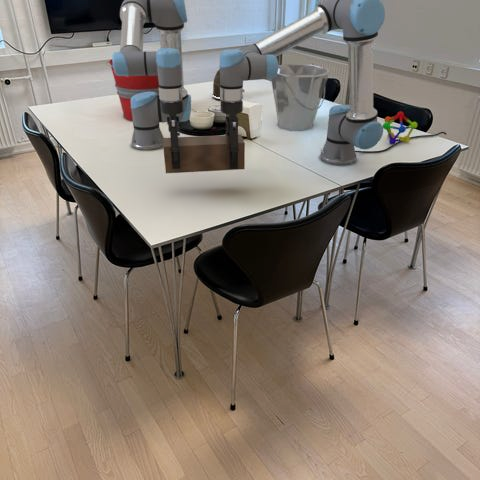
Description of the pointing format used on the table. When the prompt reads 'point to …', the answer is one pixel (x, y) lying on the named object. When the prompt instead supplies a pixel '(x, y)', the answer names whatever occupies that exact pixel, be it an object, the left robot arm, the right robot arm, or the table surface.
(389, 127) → the educational toy
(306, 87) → the bucket
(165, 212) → the table surface
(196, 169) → the box
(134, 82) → the bucket
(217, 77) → the bell
